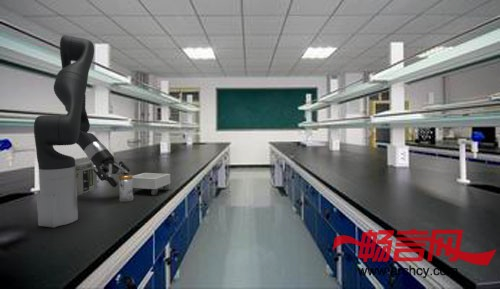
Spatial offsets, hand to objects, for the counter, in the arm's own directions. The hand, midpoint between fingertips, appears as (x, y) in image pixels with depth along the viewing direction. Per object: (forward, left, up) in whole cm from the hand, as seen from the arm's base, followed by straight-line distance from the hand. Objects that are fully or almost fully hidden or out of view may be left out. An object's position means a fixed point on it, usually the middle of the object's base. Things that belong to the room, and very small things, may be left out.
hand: (123, 183), depth 107 cm
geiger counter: (+7, +28, -7) cm, 30 cm away
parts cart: (+14, -2, -7) cm, 16 cm away
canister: (0, -1, -7) cm, 7 cm away
